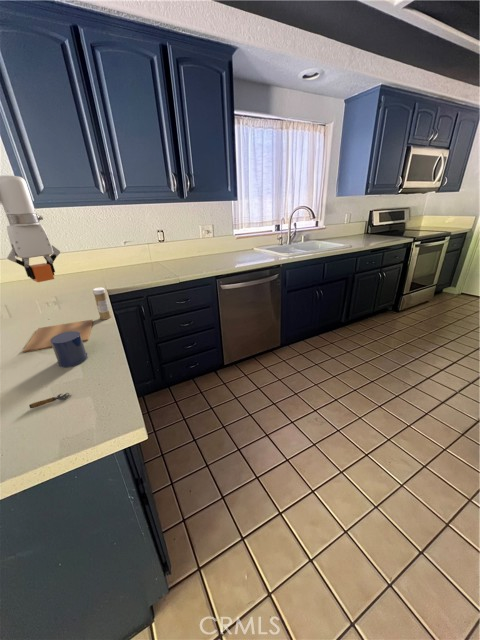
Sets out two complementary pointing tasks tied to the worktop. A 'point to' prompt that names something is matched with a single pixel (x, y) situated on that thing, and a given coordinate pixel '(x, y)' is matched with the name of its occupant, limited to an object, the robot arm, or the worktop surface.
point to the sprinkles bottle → (101, 303)
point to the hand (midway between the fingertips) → (42, 276)
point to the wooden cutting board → (46, 333)
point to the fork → (49, 400)
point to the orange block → (42, 272)
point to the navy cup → (69, 349)
